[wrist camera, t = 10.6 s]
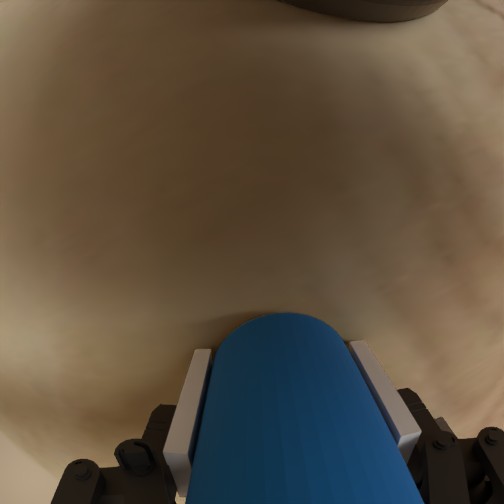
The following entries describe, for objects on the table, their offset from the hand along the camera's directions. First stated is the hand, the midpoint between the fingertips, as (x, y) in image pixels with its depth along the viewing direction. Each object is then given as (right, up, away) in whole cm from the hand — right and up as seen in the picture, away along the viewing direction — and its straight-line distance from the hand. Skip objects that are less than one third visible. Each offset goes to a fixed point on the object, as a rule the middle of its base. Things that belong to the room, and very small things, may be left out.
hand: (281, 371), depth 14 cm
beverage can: (0, 0, +1) cm, 1 cm away
